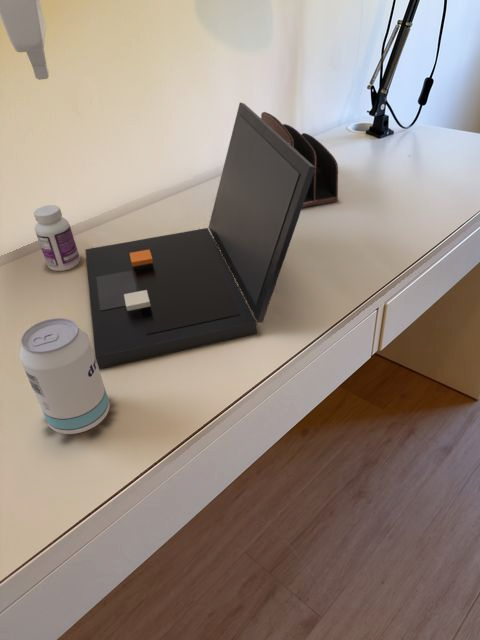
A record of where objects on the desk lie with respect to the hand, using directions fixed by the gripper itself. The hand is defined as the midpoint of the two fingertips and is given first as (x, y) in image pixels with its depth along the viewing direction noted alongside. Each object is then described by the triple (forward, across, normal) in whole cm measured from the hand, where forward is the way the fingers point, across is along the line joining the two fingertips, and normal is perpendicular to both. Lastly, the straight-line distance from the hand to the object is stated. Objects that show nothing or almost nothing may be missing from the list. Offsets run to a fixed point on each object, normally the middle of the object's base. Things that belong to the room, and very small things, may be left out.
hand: (43, 77), depth 76 cm
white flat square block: (+25, +26, +6) cm, 36 cm away
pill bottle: (+27, +5, -4) cm, 28 cm away
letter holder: (+27, -10, +43) cm, 52 cm away
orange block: (+25, +14, +8) cm, 30 cm away
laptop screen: (+15, +20, +24) cm, 35 cm away
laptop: (+27, +20, +10) cm, 35 cm away
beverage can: (+27, +43, -3) cm, 51 cm away
